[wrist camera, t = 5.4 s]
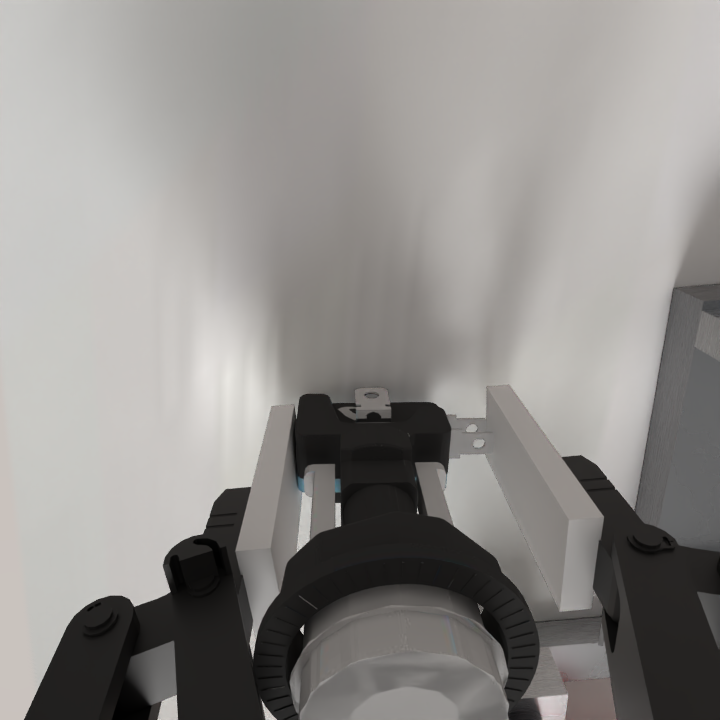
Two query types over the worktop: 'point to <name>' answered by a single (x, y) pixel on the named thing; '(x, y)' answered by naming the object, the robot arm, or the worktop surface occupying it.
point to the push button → (390, 578)
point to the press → (668, 462)
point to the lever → (543, 693)
